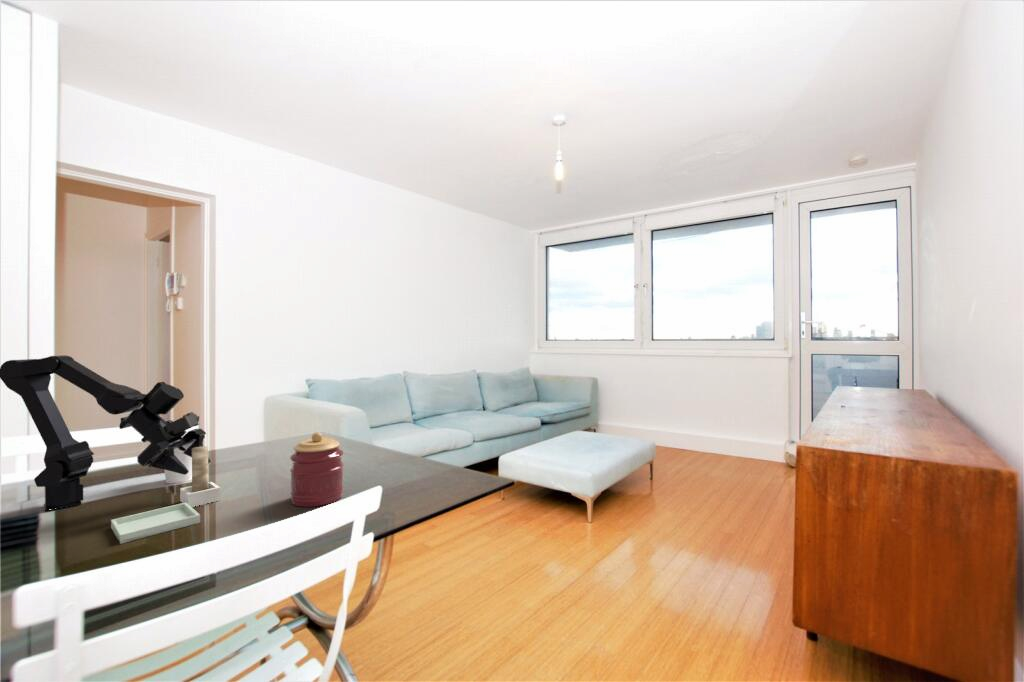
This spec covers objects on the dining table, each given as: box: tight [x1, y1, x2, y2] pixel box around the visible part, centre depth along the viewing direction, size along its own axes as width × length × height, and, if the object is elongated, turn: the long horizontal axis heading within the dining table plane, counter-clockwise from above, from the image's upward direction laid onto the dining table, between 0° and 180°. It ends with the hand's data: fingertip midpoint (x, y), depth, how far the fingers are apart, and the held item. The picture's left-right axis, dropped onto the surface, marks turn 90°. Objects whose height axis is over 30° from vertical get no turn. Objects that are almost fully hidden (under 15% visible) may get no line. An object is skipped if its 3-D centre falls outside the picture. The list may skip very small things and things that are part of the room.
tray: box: [110, 502, 201, 545], centre depth 102 cm, size 14×12×2 cm
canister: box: [289, 431, 345, 508], centre depth 118 cm, size 13×13×18 cm
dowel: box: [191, 445, 209, 493], centre depth 117 cm, size 4×4×14 cm
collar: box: [179, 481, 221, 508], centre depth 117 cm, size 7×7×4 cm
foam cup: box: [163, 433, 192, 484], centre depth 134 cm, size 10×9×13 cm
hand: (198, 467), depth 117 cm, fingers open, 9 cm apart
